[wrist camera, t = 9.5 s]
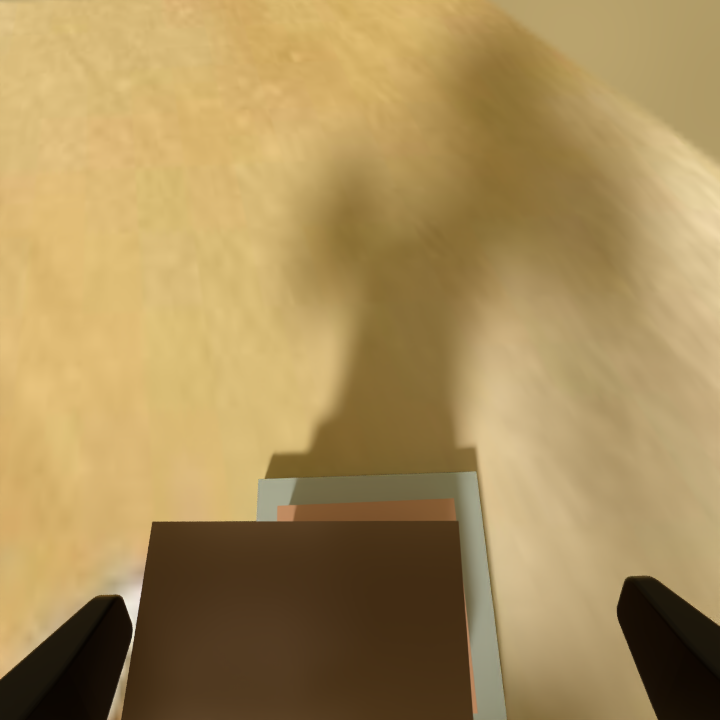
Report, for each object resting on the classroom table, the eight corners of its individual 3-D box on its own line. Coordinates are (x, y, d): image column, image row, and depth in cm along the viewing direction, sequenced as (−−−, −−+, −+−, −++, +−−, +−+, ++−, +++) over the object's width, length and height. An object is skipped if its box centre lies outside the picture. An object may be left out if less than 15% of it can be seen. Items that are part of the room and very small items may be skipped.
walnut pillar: (444, 705, 15) (493, 986, 6) (282, 698, 15) (85, 944, 6) (434, 528, 17) (458, 520, 8) (291, 528, 17) (152, 521, 8)
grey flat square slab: (495, 721, 19) (509, 741, 17) (257, 728, 19) (245, 750, 17) (467, 476, 22) (476, 471, 21) (267, 483, 22) (258, 479, 21)
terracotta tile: (463, 689, 18) (477, 713, 15) (284, 697, 18) (271, 721, 15) (443, 502, 20) (453, 498, 18) (287, 509, 20) (277, 505, 18)
